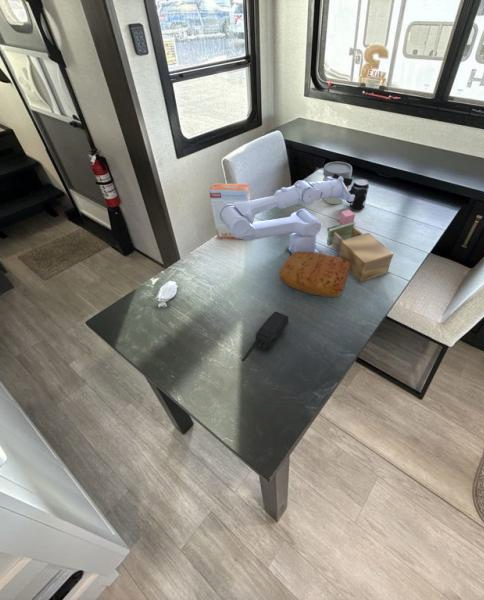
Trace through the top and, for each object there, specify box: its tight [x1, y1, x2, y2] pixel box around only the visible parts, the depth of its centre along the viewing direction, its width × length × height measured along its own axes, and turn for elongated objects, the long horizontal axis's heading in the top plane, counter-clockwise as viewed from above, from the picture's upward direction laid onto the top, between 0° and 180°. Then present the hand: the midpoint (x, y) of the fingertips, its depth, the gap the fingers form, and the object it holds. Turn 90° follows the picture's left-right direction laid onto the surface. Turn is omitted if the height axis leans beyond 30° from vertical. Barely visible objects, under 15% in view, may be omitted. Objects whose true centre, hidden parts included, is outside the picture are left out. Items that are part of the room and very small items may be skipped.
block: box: [338, 208, 356, 225], centre depth 131 cm, size 4×4×4 cm
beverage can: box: [349, 178, 370, 212], centre depth 137 cm, size 7×7×12 cm
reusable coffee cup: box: [322, 161, 353, 205], centre depth 141 cm, size 13×13×15 cm
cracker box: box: [208, 182, 251, 240], centre depth 121 cm, size 14×6×21 cm, turn 84°
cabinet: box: [338, 232, 394, 283], centre depth 110 cm, size 14×12×9 cm
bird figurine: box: [155, 280, 180, 308], centre depth 102 cm, size 5×7×10 cm
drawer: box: [326, 223, 363, 254], centre depth 117 cm, size 17×10×7 cm, turn 24°
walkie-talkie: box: [241, 311, 289, 363], centre depth 88 cm, size 6×6×20 cm
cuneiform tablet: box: [278, 252, 351, 298], centre depth 104 cm, size 22×17×8 cm
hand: (357, 186), depth 111 cm, fingers open, 7 cm apart
